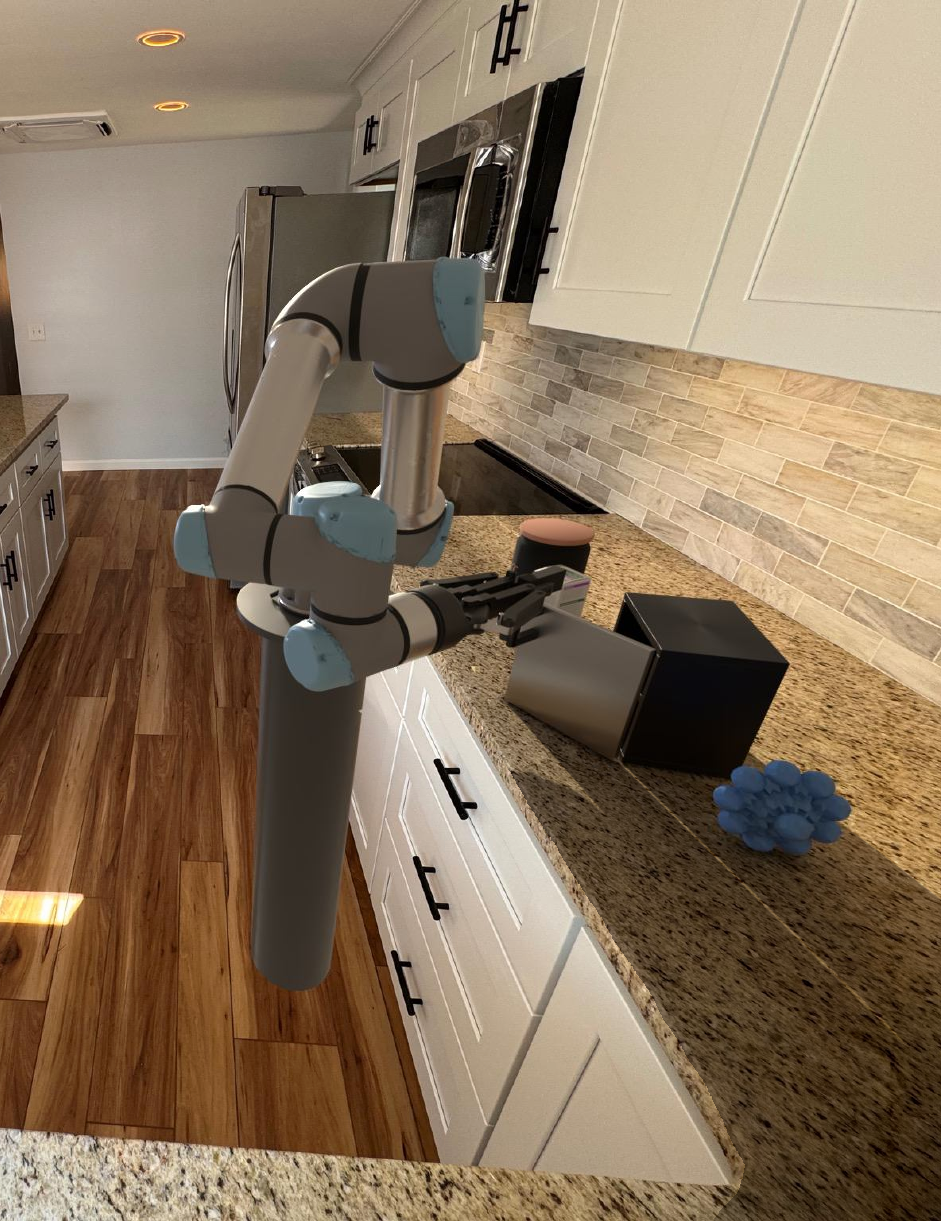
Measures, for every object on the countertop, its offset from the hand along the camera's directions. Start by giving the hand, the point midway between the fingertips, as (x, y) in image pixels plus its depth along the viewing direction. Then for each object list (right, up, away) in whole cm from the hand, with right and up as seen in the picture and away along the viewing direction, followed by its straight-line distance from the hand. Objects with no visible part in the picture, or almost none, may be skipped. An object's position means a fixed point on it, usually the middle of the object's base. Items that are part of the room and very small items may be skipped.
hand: (558, 577), depth 82 cm
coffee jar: (+19, -7, +37) cm, 42 cm away
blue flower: (+16, -31, -10) cm, 36 cm away
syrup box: (+16, -11, +28) cm, 34 cm away
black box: (+19, -21, +9) cm, 30 cm away
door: (+5, -21, +10) cm, 24 cm away
